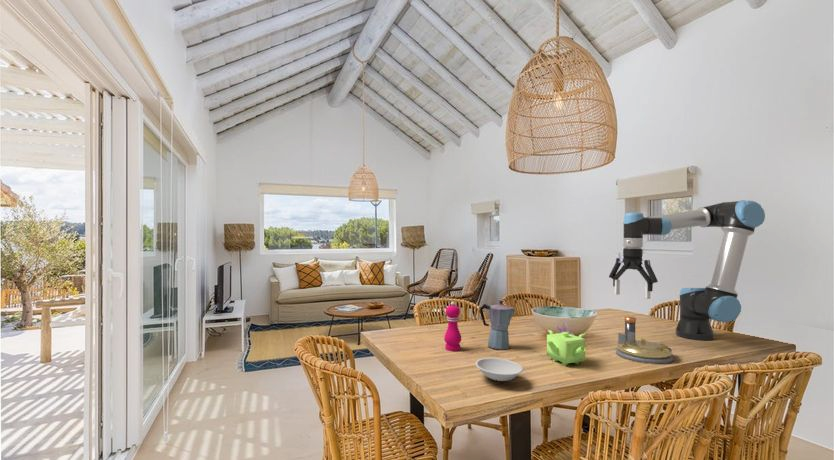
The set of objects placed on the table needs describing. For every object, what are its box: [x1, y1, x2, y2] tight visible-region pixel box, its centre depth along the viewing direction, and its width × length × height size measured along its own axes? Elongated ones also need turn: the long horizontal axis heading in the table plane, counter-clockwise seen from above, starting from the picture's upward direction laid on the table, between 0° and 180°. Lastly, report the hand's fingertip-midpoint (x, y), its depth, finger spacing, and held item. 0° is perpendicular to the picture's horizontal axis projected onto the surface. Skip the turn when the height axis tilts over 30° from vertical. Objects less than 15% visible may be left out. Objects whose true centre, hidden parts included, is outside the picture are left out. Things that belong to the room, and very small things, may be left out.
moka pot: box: [479, 300, 517, 351], centre depth 175 cm, size 10×15×20 cm, turn 78°
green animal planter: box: [546, 329, 587, 366], centre depth 156 cm, size 15×14×11 cm
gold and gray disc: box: [616, 331, 673, 359], centre depth 164 cm, size 19×19×6 cm
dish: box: [475, 357, 524, 382], centre depth 137 cm, size 18×14×5 cm
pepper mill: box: [443, 301, 462, 352], centre depth 173 cm, size 7×7×20 cm
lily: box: [554, 320, 575, 336], centre depth 178 cm, size 12×12×10 cm
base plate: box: [615, 347, 674, 365], centre depth 164 cm, size 20×20×2 cm
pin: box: [624, 315, 637, 340], centre depth 180 cm, size 4×4×12 cm
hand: (632, 296), depth 179 cm, fingers open, 13 cm apart
